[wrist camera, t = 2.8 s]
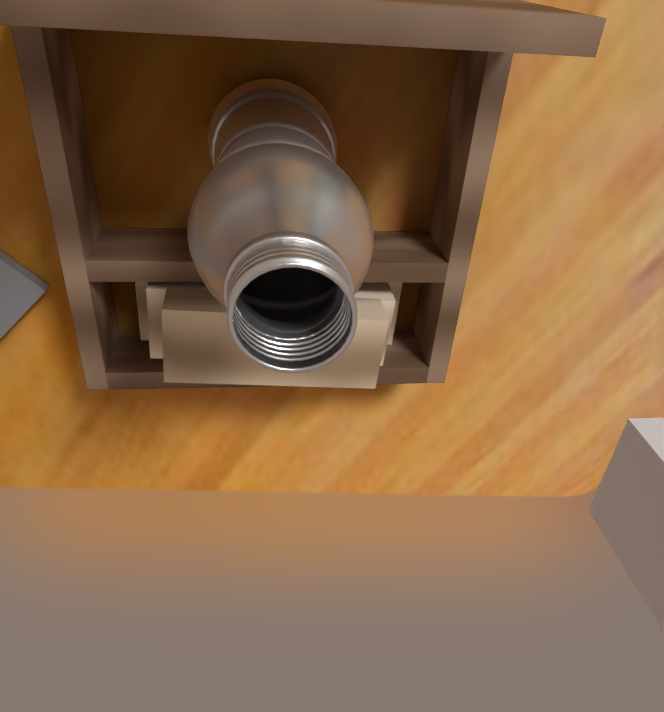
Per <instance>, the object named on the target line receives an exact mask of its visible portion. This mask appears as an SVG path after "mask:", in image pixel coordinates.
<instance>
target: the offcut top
mask: <svg viewBox="0 0 664 712" xmlns="http://www.w3.org/2000/svg"><path fill="white" fill-rule="evenodd" d="M355 301H356V306H357V327H356V331H355V335H354V337H353V339H352V341H351V343H350V345H349V346H348V347H347V349H346V350H345V351H344V353H342V354H341V355H340V356H339V357H338V358H337V359H336V360H334V361H333V362H331V363H329V364H328V365H326V366H324V367H321V368H319V369H316V370H313V371H308V372H303V373H285V372H277V371H274V370H270V369H267V368H265V367H262V366H260V365H258V364H256V363H255V362H253V361H252V360H250V359H249V358H248V357H246V356H245V355H244V354H243V353H242V352H241V351H240V350H239V348H238V347H237V345H236V344H235V342H234V341H233V339H232V336H231V333H230V331H229V328H228V324H227V317H226V310H227V309H226V307H225V306H223V305H222V304H221V303H220V302H219V301H218V300H217V299H216V298H215V297H214V296H213V295H212V294H211V293H210V291H209V290H208V289H193V288H175V287H167V289H166V293H165V297H164V301H163V306H162V337H163V367H164V382H172V383H205V384H238V385H271V386H304V387H337V388H370V389H375V388H376V383H377V378H378V373H379V368H380V363H381V358H382V354H383V349H384V344H385V339H386V334H387V329H388V324H389V319H388V317H387V314H386V311H385V309H384V306H383V304H382V301H381V299H371V298H355Z"/></svg>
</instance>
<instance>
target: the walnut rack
mask: <svg viewBox="0 0 664 712" xmlns="http://www.w3.org/2000/svg"><path fill="white" fill-rule="evenodd" d="M605 21H606V18H602V17H597V16H592V15H588V14H583V13H578V12H573V11H568V10H564V9H559V8H554V7H549V6H545V5H540V4H535V3H530V2H525V1H521V0H0V25H11V29H12V34H13V38H14V43H15V48H16V53H17V57H18V62H19V67H20V72H21V76H22V81H23V86H24V91H25V95H26V100H27V105H28V110H29V114H30V119H31V124H32V129H33V133H34V138H35V143H36V148H37V152H38V157H39V162H40V167H41V171H42V176H43V181H44V186H45V190H46V195H47V200H48V205H49V209H50V214H51V219H52V224H53V228H54V233H55V238H56V242H57V247H58V252H59V257H60V261H61V266H62V271H63V276H64V280H65V285H66V290H67V295H68V299H69V304H70V309H71V314H72V318H73V323H74V328H75V333H76V337H77V342H78V347H79V352H80V356H81V361H82V366H83V371H84V375H85V380H86V385H87V390H102V389H153V388H203V387H253V386H271V385H238V384H205V383H172V382H164V367H163V359H161V358H150V346H149V340H141V338H140V332H119V329H118V323H117V317H116V311H115V305H114V299H113V292H112V286H111V282H203V281H202V279H201V277H200V275H199V273H198V271H197V269H196V267H195V264H194V262H193V259H192V257H191V254H190V250H189V244H188V238H187V231H188V229H177V228H103V227H102V225H101V219H100V212H99V206H98V200H97V194H96V188H95V182H94V176H93V169H92V163H91V157H90V151H89V145H88V139H87V132H86V126H85V120H84V114H83V108H82V102H81V96H80V89H79V83H78V77H77V71H76V65H75V59H74V53H73V46H72V40H71V34H70V29H86V30H104V31H123V32H141V33H160V34H178V35H196V36H215V37H233V38H252V39H270V40H289V41H307V42H325V43H344V44H362V45H381V46H399V47H418V48H436V49H455V50H458V56H457V62H456V68H455V74H454V81H453V87H452V93H451V99H450V105H449V112H448V118H447V124H446V130H445V136H444V143H443V149H442V155H441V161H440V167H439V173H438V180H437V186H436V192H435V198H434V204H433V211H432V217H431V223H430V229H429V232H398V231H374V247H373V252H372V256H371V261H370V265H369V268H368V272H367V274H366V276H365V279H364V281H363V282H421V285H420V291H419V297H418V303H417V310H416V316H415V322H414V328H413V330H394V334H393V340H392V345H387V347H386V352H385V357H384V362H383V366H380V368H379V373H378V378H377V383H376V384H404V383H445V378H446V373H447V368H448V364H449V359H450V354H451V349H452V344H453V339H454V335H455V330H456V325H457V320H458V315H459V311H460V306H461V301H462V296H463V291H464V287H465V282H466V277H467V272H468V267H469V263H470V258H471V253H472V248H473V243H474V239H475V234H476V229H477V224H478V219H479V215H480V210H481V205H482V200H483V195H484V191H485V186H486V181H487V176H488V171H489V167H490V162H491V157H492V152H493V147H494V143H495V138H496V133H497V128H498V123H499V119H500V114H501V109H502V104H503V99H504V95H505V90H506V85H507V80H508V75H509V71H510V66H511V61H512V56H513V53H528V54H547V55H565V56H584V57H596V54H597V50H598V46H599V43H600V39H601V36H602V32H603V28H604V25H605Z"/></svg>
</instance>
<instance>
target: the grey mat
mask: <svg viewBox="0 0 664 712" xmlns="http://www.w3.org/2000/svg"><path fill="white" fill-rule="evenodd" d="M48 287H49V285H48V284H47V283H46V282H44V281H43V280H41V279H40V278H39V277H37V276H36V275H34V274H33V273H32V272H30V271H29V270H27V269H26V268H25V267H23V266H22V265H20V264H19V263H18V262H16V261H15V260H13V259H12V258H11V257H9V256H8V255H6V254H5V253H4V252H2V251H1V250H0V339H1V338H2V337H3V336H4V334H5V333H6V332H7V331H8V330H9V329H10V328H11V327H12V326H13V325H14V324H15V323H16V322H17V321H18V320H19V319H20V318H21V317H22V316H23V315H24V314H25V312H26V311H27V310H28V309H29V308H30V307H31V306H32V305H33V304H34V303H35V302H36V301H37V300H38V299H39V298H40V297H41V296H42V295H43V294H44V293H45V292H46V290H47V288H48Z"/></svg>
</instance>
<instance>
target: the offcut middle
mask: <svg viewBox="0 0 664 712" xmlns="http://www.w3.org/2000/svg"><path fill="white" fill-rule="evenodd" d="M167 287H175V288H193V289H208V288H207V287H206V285H205V284H204V282H148V284H147V287H146V294H147V311H148V328H149V346H150V358H161V359H163V337H162V306H163V301H164V297H165V293H166V289H167ZM354 297H355V298H371V299H381V301H382V304H383V306H384V309H385V311H386V314H387V317H388V319H389V324H388V329H387V334H386V339H385V344H384V349H383V354H382V358H381V363H380V366H383V362H384V357H385V352H386V347H387V342H388V337H389V332H390V327H391V322H392V317H393V312H394V308H395V303H396V300H395V298H394V296H393V293H392V291H391V288H390V286H389V284H388V282H363V283H362V285H361V287H360V288H359V290H358V291H357V292H356V294H355V295H354Z"/></svg>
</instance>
